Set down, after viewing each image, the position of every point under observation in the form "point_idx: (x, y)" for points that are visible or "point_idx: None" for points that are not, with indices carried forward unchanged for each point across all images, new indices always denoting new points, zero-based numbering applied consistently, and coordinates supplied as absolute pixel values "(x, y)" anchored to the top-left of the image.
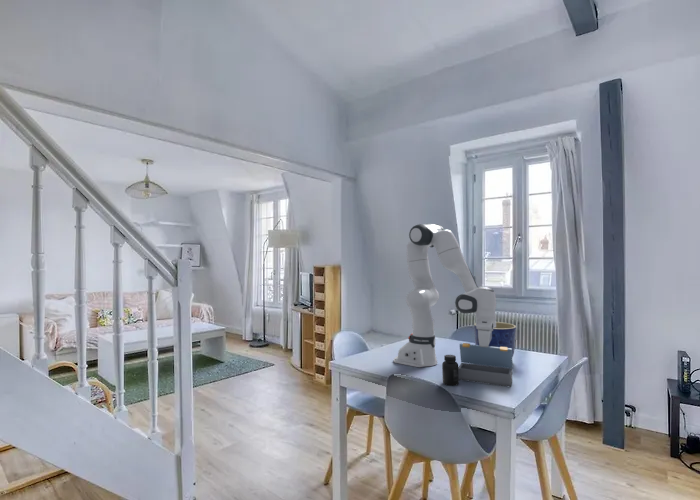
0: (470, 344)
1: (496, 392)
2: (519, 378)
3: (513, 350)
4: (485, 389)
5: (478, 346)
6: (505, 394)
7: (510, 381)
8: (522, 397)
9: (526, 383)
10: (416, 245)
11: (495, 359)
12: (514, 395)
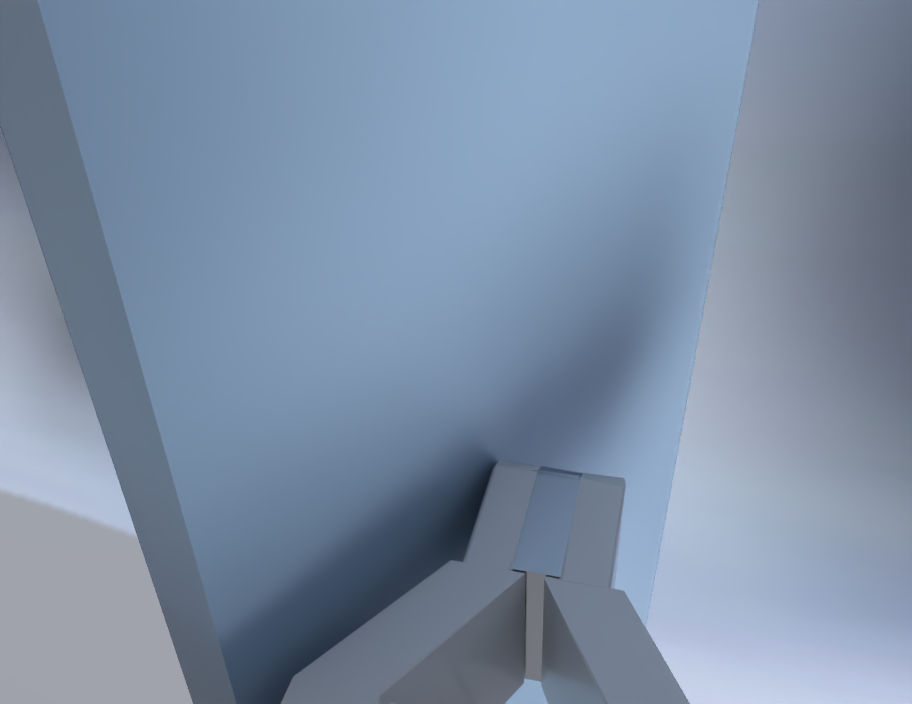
0: (37, 39)
1: (2, 287)
2: (743, 595)
3: None
4: (5, 154)
5: (141, 487)
6: (14, 374)
7: None
8: (52, 505)
9: None
10: None
11: None
12: (52, 450)
